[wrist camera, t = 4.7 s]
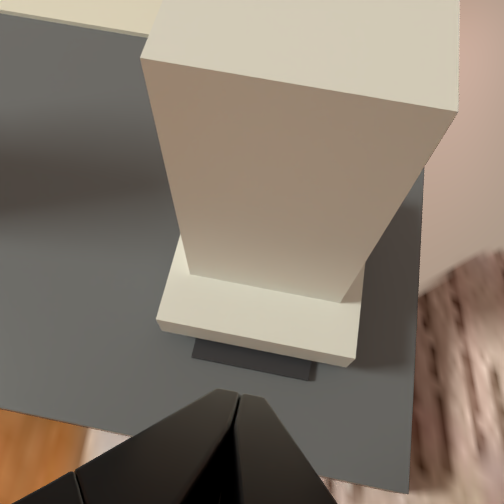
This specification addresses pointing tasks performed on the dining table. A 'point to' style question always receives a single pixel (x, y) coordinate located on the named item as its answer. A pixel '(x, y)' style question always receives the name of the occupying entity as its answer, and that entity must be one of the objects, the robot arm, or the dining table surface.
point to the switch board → (158, 263)
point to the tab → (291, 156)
